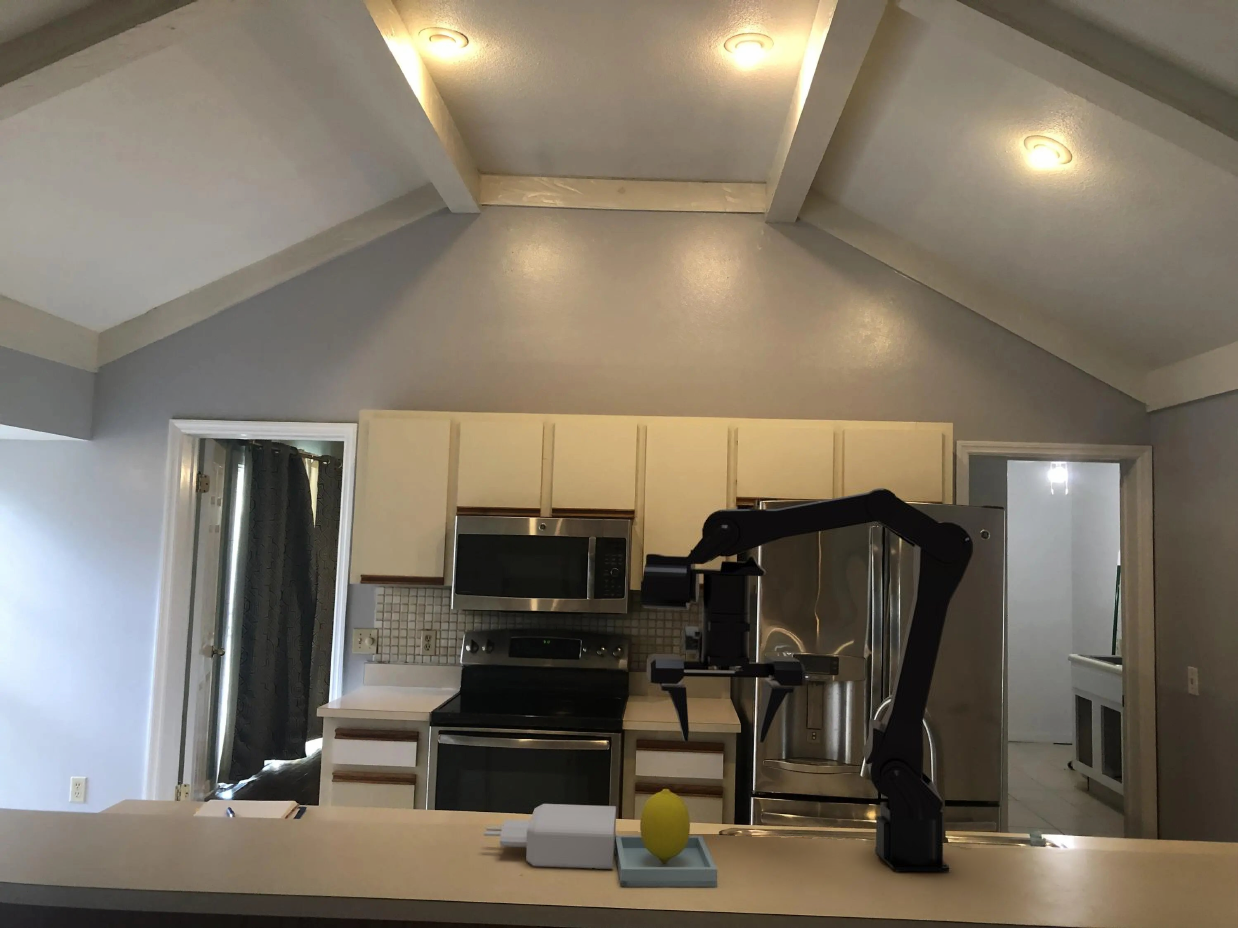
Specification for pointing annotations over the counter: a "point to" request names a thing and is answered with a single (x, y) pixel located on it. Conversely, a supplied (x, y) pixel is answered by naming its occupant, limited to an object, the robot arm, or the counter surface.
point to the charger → (563, 836)
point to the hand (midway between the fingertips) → (723, 741)
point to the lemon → (665, 825)
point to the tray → (664, 865)
